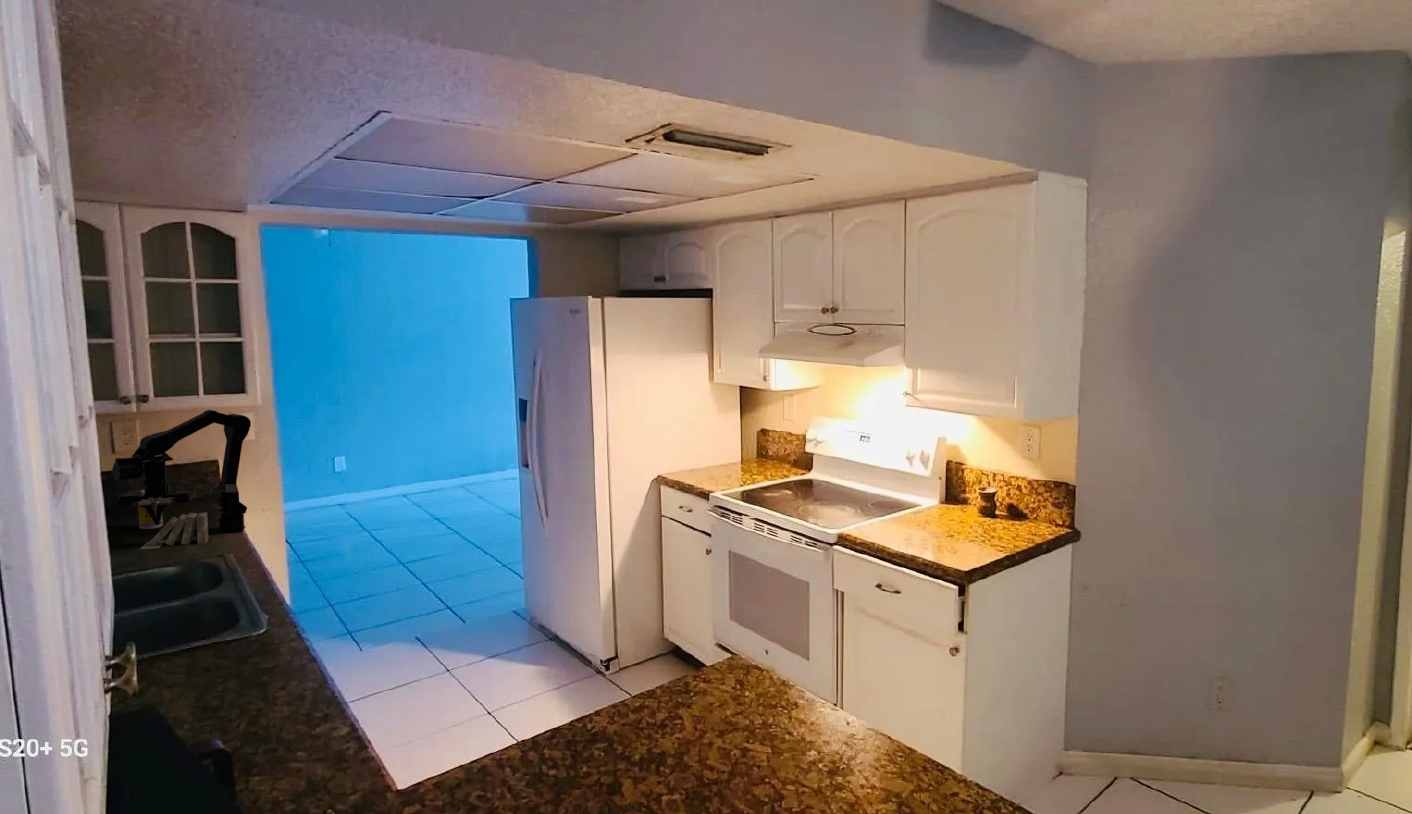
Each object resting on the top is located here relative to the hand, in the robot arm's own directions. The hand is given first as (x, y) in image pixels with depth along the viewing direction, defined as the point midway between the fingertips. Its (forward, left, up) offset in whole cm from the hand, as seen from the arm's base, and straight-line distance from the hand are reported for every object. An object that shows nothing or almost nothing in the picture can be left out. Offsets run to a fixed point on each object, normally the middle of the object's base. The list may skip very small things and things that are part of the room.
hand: (157, 524), depth 246 cm
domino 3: (-12, 0, -6) cm, 14 cm away
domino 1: (-3, 0, -6) cm, 7 cm away
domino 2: (-8, 0, -6) cm, 10 cm away
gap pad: (+1, 0, -6) cm, 7 cm away
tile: (+1, 0, -6) cm, 6 cm away
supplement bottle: (+7, -24, -7) cm, 26 cm away
